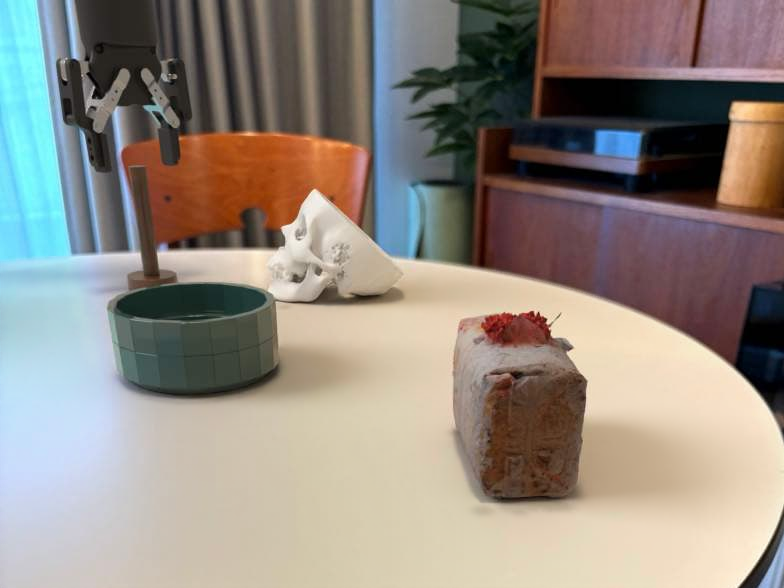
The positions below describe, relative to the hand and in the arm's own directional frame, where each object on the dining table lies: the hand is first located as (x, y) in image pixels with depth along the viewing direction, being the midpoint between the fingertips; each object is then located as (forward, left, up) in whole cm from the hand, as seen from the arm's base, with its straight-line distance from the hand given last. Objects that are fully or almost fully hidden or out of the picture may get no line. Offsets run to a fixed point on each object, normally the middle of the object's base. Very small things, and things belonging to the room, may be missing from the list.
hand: (137, 168), depth 90 cm
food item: (-12, -58, -13) cm, 61 cm away
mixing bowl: (-15, -28, -13) cm, 34 cm away
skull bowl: (+12, -18, -13) cm, 25 cm away
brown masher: (0, 0, -13) cm, 13 cm away
